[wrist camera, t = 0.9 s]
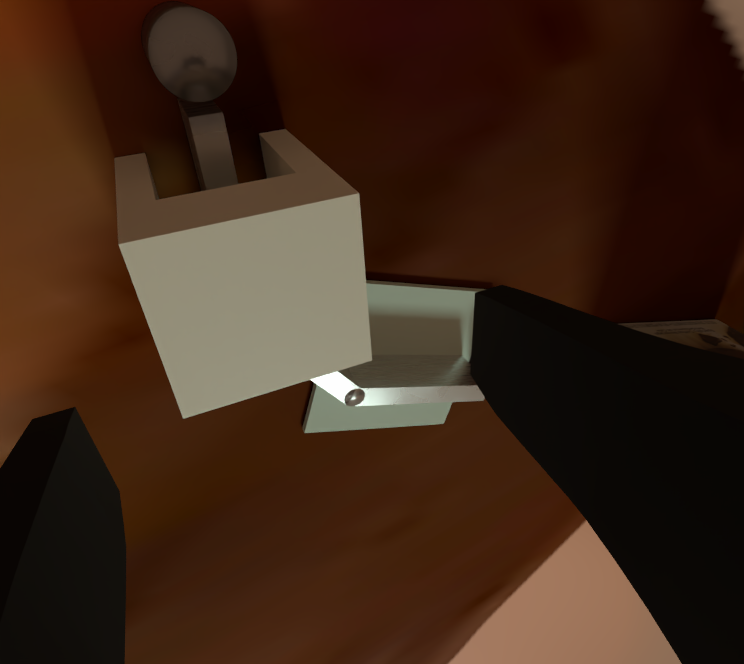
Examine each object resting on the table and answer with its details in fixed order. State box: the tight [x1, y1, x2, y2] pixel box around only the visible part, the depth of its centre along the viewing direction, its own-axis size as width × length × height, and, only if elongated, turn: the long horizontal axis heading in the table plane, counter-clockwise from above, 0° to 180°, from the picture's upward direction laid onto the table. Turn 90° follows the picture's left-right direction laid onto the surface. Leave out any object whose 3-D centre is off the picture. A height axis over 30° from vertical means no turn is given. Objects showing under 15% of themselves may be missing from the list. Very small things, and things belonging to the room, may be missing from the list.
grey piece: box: [141, 1, 485, 406], centre depth 18 cm, size 6×19×3 cm, turn 39°
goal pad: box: [302, 280, 486, 433], centre depth 22 cm, size 7×7×1 cm
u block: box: [114, 129, 372, 419], centre depth 14 cm, size 4×5×6 cm
